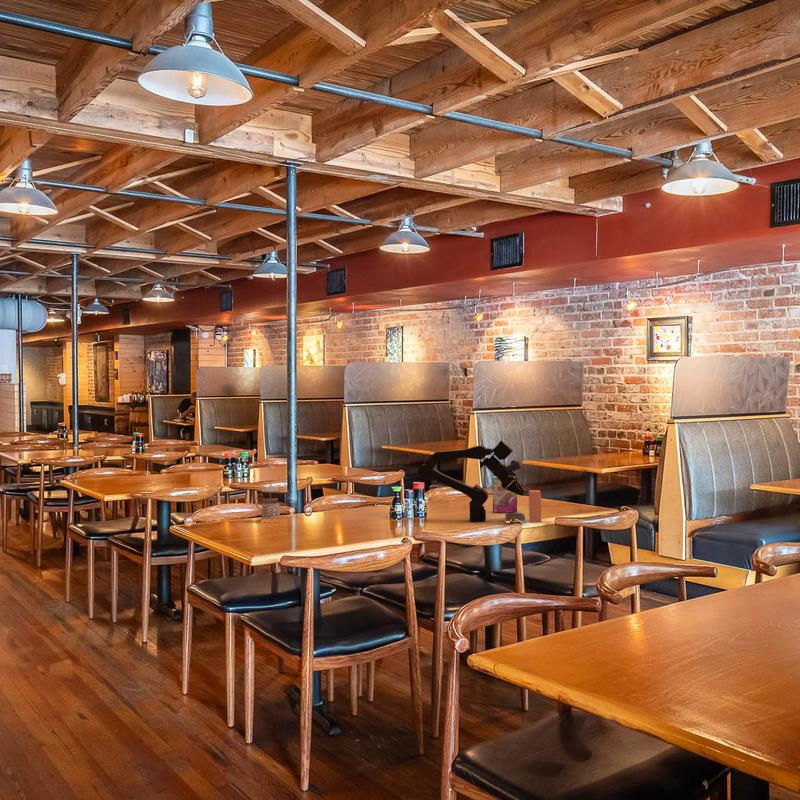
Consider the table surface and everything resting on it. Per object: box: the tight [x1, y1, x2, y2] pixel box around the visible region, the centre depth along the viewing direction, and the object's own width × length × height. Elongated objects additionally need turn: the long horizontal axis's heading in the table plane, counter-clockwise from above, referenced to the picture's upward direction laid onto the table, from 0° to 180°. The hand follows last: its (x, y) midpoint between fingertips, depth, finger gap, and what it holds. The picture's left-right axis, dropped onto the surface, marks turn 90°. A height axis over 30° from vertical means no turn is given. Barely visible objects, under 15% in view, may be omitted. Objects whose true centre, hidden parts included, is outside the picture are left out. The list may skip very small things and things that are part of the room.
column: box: [528, 489, 542, 523], centre depth 353 cm, size 4×4×13 cm
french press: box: [254, 464, 281, 520], centre depth 369 cm, size 10×12×25 cm
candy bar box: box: [492, 475, 518, 514], centre depth 381 cm, size 11×5×16 cm, turn 84°
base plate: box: [504, 512, 527, 524], centre depth 354 cm, size 8×8×3 cm
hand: (523, 493), depth 354 cm, fingers open, 9 cm apart
